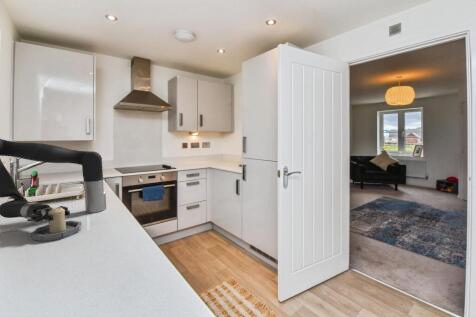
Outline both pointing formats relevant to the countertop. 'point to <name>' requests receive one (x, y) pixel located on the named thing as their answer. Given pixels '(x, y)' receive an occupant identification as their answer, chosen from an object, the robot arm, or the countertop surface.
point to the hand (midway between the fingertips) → (60, 215)
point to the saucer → (45, 234)
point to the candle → (57, 220)
